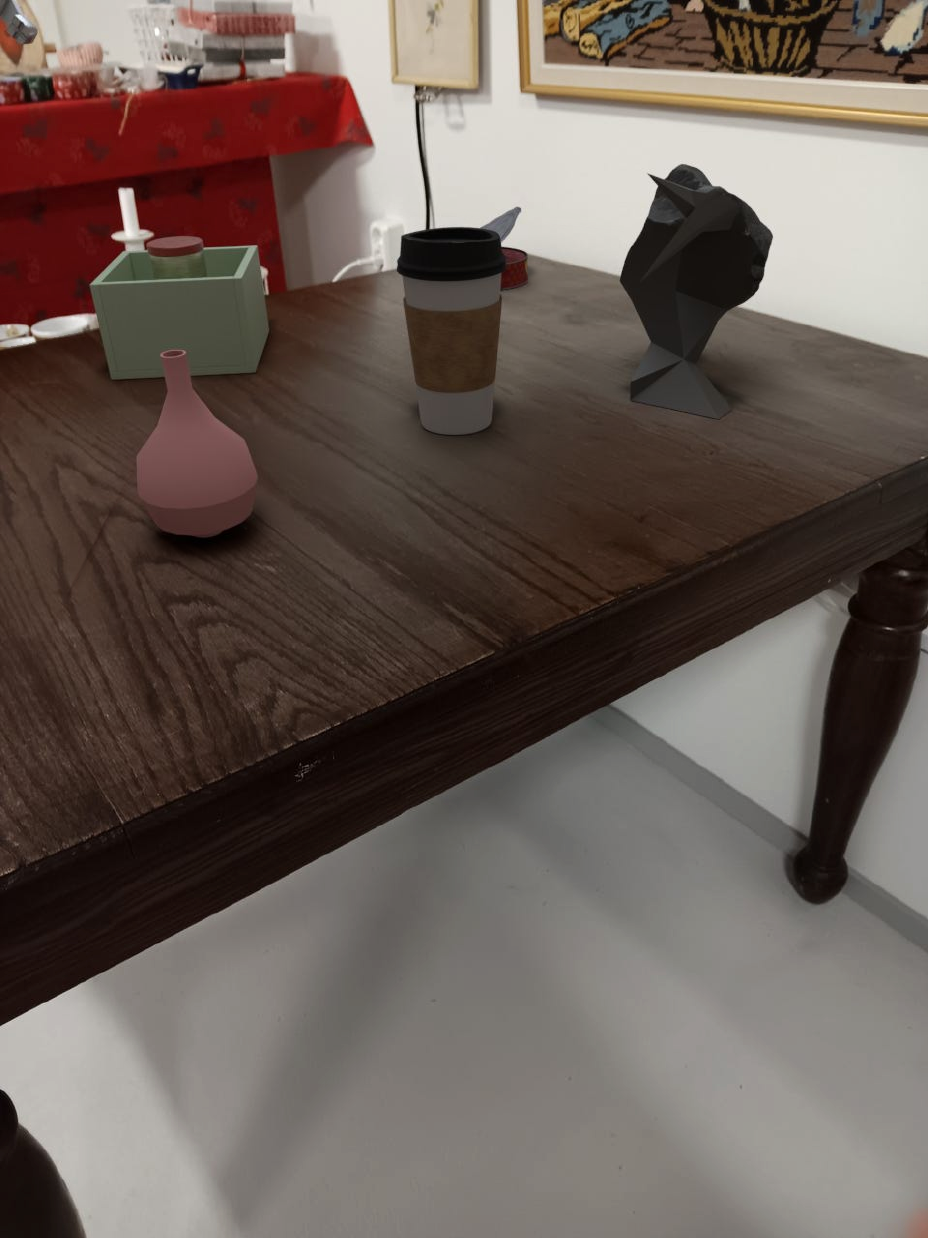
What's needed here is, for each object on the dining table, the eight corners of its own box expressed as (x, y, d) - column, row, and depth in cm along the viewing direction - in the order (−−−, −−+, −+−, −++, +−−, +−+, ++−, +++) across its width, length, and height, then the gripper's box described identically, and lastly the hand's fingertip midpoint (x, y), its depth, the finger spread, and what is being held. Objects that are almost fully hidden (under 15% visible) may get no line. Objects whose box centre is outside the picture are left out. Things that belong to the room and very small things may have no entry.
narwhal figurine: (786, 367, 89) (821, 153, 79) (719, 419, 79) (749, 180, 69) (647, 342, 96) (663, 143, 86) (569, 387, 86) (577, 167, 76)
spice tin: (163, 355, 94) (141, 249, 89) (171, 339, 98) (151, 237, 93) (216, 352, 94) (198, 246, 89) (222, 337, 99) (205, 234, 93)
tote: (111, 380, 91) (89, 284, 86) (141, 337, 102) (122, 250, 97) (255, 372, 92) (241, 277, 87) (269, 331, 103) (257, 245, 98)
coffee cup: (388, 434, 78) (374, 239, 70) (430, 398, 84) (422, 217, 76) (485, 447, 75) (482, 246, 67) (520, 409, 82) (522, 222, 73)
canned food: (508, 327, 117) (496, 262, 109) (438, 309, 121) (421, 244, 112) (550, 265, 121) (541, 197, 113) (481, 249, 125) (468, 182, 116)
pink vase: (274, 544, 63) (246, 363, 56) (154, 567, 60) (111, 382, 54) (253, 496, 69) (226, 328, 62) (144, 515, 67) (104, 344, 60)
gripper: (-221, -143, 70) (-56, 14, 74) (-50, -120, 86) (76, 7, 90) (-248, -66, 73) (-89, 80, 77) (-78, -58, 90) (45, 62, 93)
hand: (2, 41), depth 84 cm, fingers open, 8 cm apart
